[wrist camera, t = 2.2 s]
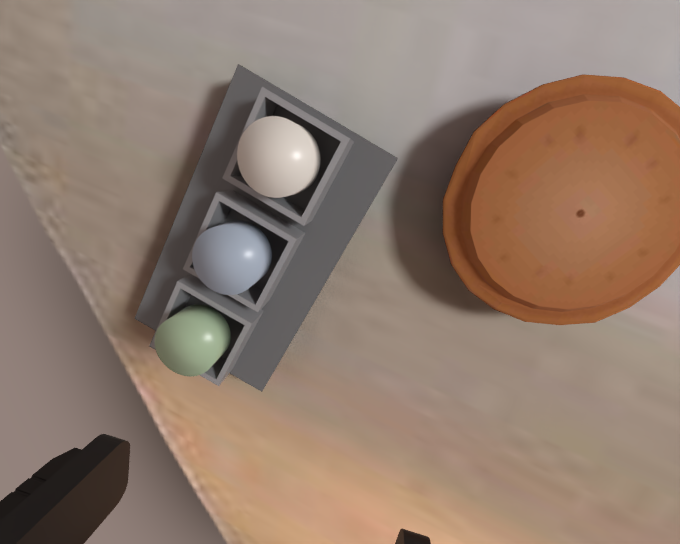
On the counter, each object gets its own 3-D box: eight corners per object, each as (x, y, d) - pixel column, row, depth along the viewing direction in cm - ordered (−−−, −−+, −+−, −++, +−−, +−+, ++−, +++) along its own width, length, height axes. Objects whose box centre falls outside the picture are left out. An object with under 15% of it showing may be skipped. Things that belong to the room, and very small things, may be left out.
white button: (241, 173, 23) (225, 173, 21) (270, 107, 22) (256, 100, 20) (300, 207, 24) (290, 211, 21) (333, 144, 22) (326, 141, 20)
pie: (686, 75, 23) (762, 51, 18) (649, 305, 27) (704, 333, 22) (437, 99, 25) (447, 82, 21) (436, 307, 29) (445, 334, 25)
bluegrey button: (200, 263, 26) (181, 272, 23) (225, 208, 24) (208, 212, 22) (255, 295, 26) (241, 307, 23) (282, 242, 24) (271, 249, 22)
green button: (166, 340, 28) (145, 355, 25) (187, 293, 26) (167, 305, 24) (216, 369, 28) (200, 387, 25) (240, 324, 26) (225, 338, 24)
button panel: (157, 305, 33) (112, 331, 27) (254, 75, 27) (221, 51, 21) (273, 372, 33) (250, 410, 28) (396, 159, 27) (398, 156, 21)
